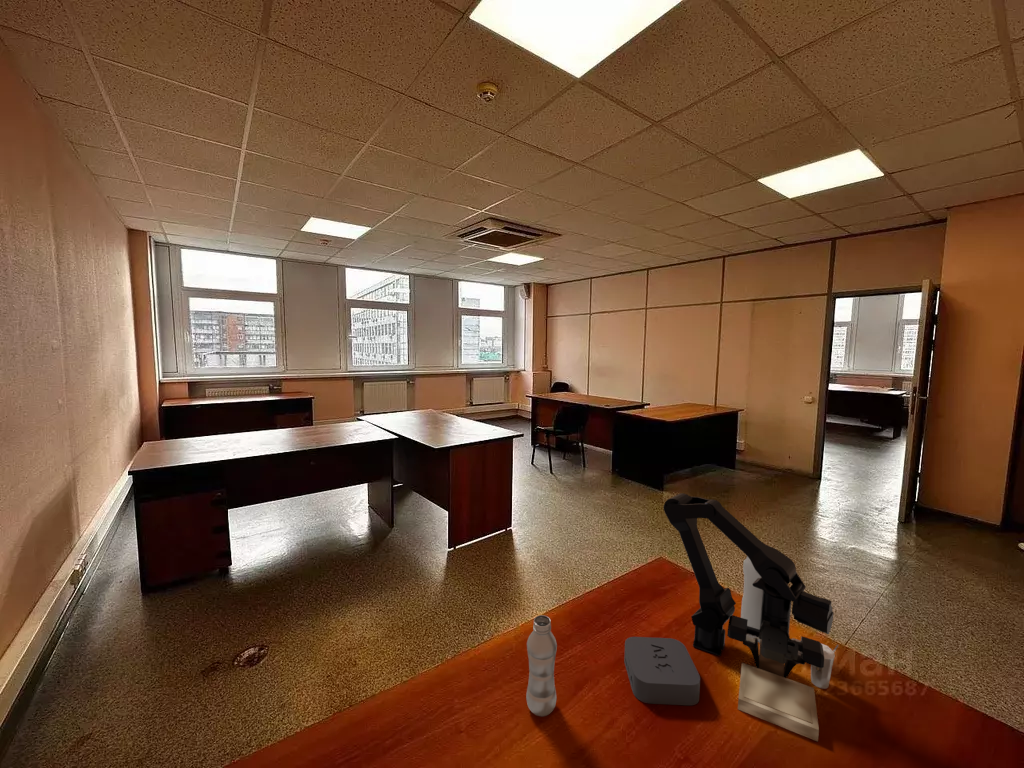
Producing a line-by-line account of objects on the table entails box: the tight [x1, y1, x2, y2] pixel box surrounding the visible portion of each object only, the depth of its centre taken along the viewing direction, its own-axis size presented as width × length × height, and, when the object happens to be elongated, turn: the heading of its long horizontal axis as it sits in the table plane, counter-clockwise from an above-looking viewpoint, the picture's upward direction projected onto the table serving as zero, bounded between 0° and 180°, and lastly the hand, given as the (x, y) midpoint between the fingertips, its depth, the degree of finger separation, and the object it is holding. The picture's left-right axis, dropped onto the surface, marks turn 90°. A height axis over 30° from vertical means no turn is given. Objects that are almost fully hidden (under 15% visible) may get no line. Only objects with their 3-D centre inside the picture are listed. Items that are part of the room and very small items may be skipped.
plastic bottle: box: [525, 614, 558, 717], centre depth 90 cm, size 6×7×20 cm
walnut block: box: [759, 640, 785, 677], centre depth 102 cm, size 5×5×6 cm
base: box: [737, 662, 820, 742], centre depth 92 cm, size 14×12×3 cm
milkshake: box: [810, 643, 839, 690], centre depth 97 cm, size 4×5×10 cm
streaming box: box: [623, 636, 701, 706], centre depth 99 cm, size 14×14×5 cm
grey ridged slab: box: [740, 556, 762, 644], centre depth 113 cm, size 11×4×22 cm, turn 8°
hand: (770, 673), depth 99 cm, fingers closed on walnut block, 5 cm apart
